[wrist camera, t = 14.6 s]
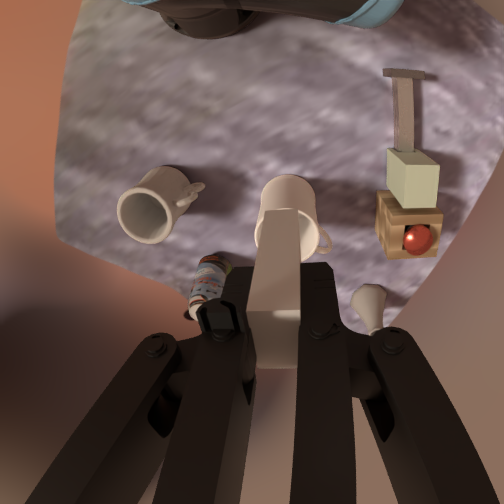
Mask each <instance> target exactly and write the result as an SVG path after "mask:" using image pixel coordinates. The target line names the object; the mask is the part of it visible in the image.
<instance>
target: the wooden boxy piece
mask: <svg viewBox="0 0 504 504" xmlns="http://www.w3.org/2000/svg"><path fill="white" fill-rule="evenodd" d="M443 216H444V214H443V213H442V212H441V211H440V209H439V208H438V207H437V206H436V208H403V207H402V206H401V204H400V203H399V202H398V200H397V199H396V198H395V196H394V195H393V194H392V192H391V191H390V190H381V191H377V193H376V217H375V231H376V234H377V236H378V238H379V240H380V242H381V245H382V247H383V249H384V252H385V254H386V256H387V259H388V260H393V259H409V258H424V257H436V255H437V250H438V245H439V240H440V234H441V228H442V222H443ZM405 225H424V226H426V227H427V228H428V229H429V230H430V232H431V233H432V236H433V243H432V245H431V247H430V249H429V250H428V251H427V252H426V253H424V254H422V255H419V256H413V255H411V254H409V253H408V252H407V251H406V249H405V247H404V245H403V236H404V229H405Z"/></svg>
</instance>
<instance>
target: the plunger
mask: <svg viewBox="0 0 504 504" xmlns="http://www.w3.org/2000/svg"><path fill="white" fill-rule="evenodd" d="M432 243H433V236H432V233H431V232H430V230H429V229H428V228H427V227H426V226H424V225H405V229H404V236H403V245H404V247H405V249H406V251H407V252H408V253H409V254H411V255H413V256H419V255H422V254H424V253H426V252H427V251H428V250H429V249H430V247H431V245H432Z"/></svg>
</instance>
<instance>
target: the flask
mask: <svg viewBox="0 0 504 504" xmlns="http://www.w3.org/2000/svg"><path fill="white" fill-rule="evenodd" d="M386 294H387V292H385V291H384V290H383V289H382V288H381V287H380V286H379V285H368V284H364V285H363V286H361V287H360V288H359V289H358V290H356V291H355V292H354V293H353V295H352V298H351V302H350V305H351V307H352V308H353V309H354V310H355V311H356V312H357V314H358V315H359V316H360V317H361V319H362V320H363V321H364V322H365V324H366V326H367V329H368V332H369V334H368V335H370V336H372V335H373V334H374V333H375V332H376V331H378V330H380V329H382V328H383V311H384V305H385V300H386Z"/></svg>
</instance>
